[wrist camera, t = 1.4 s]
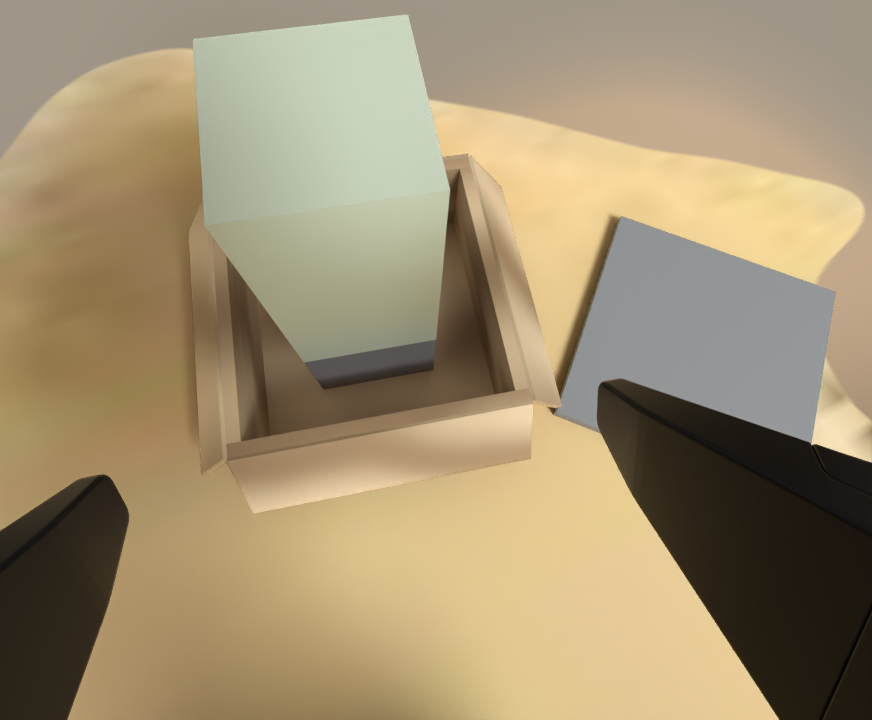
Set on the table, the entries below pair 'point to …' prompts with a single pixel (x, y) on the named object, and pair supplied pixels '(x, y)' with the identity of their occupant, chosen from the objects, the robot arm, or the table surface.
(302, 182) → the box
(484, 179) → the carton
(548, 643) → the table surface
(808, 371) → the coaster
